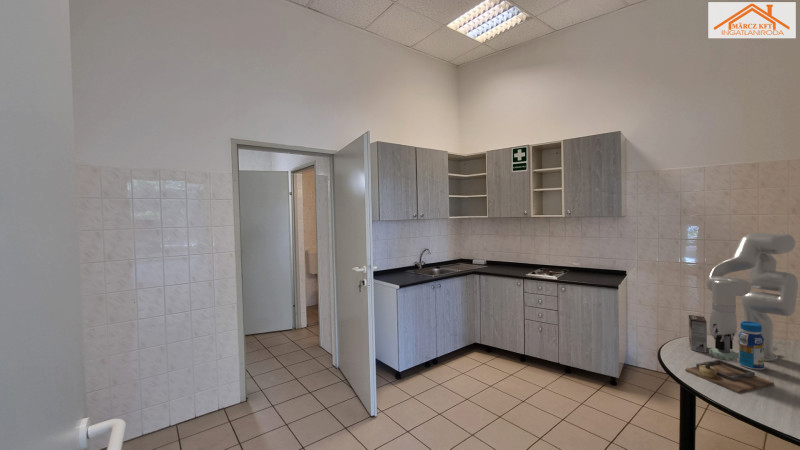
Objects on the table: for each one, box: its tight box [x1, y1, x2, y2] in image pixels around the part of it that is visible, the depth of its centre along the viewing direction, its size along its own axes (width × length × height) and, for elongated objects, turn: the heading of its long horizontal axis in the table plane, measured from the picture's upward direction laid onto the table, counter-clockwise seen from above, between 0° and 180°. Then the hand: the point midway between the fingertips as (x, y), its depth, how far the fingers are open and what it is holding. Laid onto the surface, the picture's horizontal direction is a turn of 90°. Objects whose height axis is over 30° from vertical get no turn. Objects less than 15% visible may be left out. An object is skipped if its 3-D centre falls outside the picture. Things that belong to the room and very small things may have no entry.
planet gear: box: [709, 335, 739, 361], centre depth 151 cm, size 9×9×9 cm
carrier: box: [685, 358, 775, 394], centre depth 147 cm, size 20×20×6 cm
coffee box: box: [688, 314, 708, 353], centre depth 177 cm, size 9×6×16 cm
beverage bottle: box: [737, 320, 765, 371], centre depth 156 cm, size 8×8×20 cm
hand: (723, 348), depth 151 cm, fingers closed on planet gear, 4 cm apart
